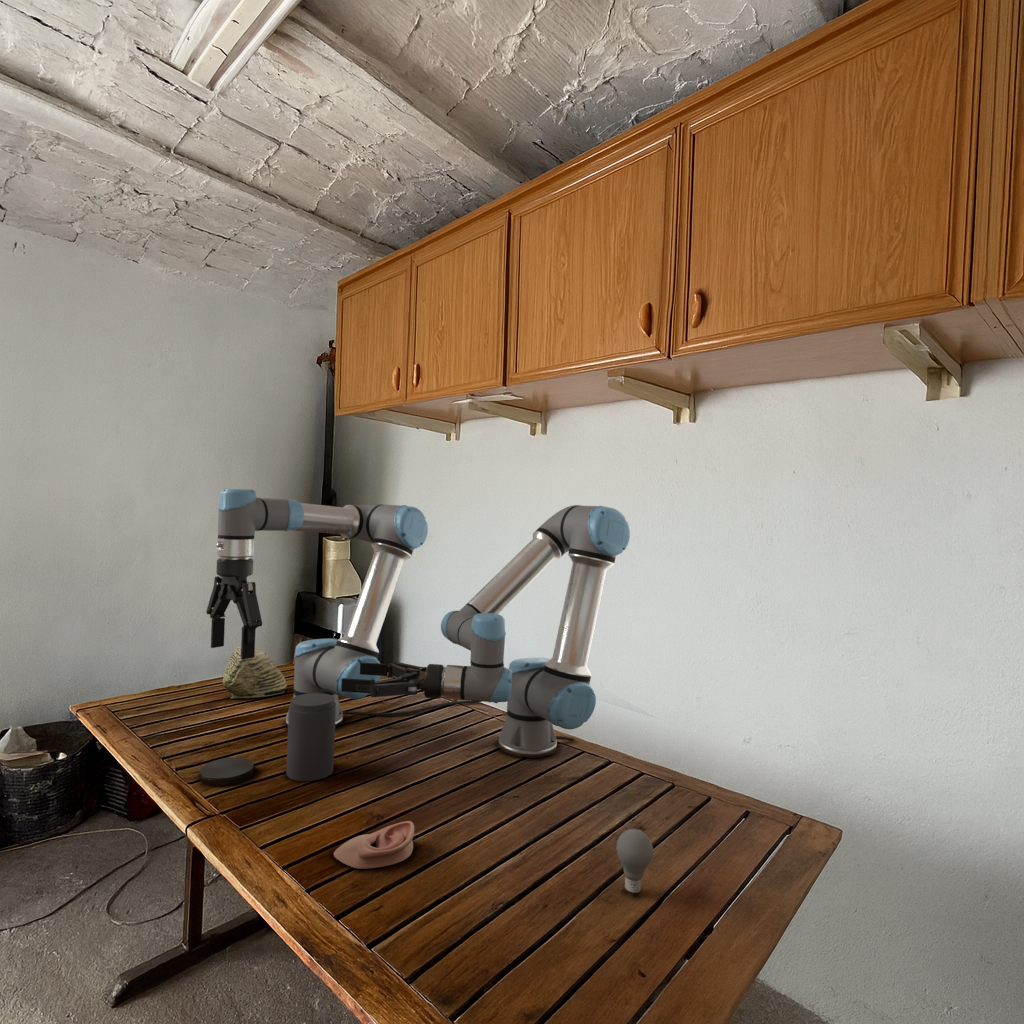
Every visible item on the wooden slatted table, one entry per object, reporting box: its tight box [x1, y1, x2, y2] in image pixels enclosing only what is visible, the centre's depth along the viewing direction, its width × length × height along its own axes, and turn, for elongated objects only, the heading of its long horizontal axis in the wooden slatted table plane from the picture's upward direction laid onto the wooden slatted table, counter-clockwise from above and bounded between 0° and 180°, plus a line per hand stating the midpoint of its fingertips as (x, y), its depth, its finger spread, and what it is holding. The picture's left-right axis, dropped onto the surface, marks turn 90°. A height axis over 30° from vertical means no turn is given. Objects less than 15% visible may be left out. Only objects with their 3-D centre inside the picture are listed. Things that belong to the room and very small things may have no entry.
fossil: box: [222, 646, 288, 699], centre depth 198 cm, size 9×18×15 cm, turn 132°
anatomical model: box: [333, 820, 415, 870], centre depth 114 cm, size 13×4×12 cm
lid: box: [198, 757, 255, 787], centre depth 142 cm, size 11×11×2 cm
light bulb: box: [615, 828, 654, 894], centre depth 106 cm, size 6×6×10 cm
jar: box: [285, 693, 336, 782], centre depth 146 cm, size 10×10×17 cm
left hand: (232, 652), depth 142 cm, fingers open, 13 cm apart
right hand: (351, 676), depth 145 cm, fingers open, 13 cm apart
